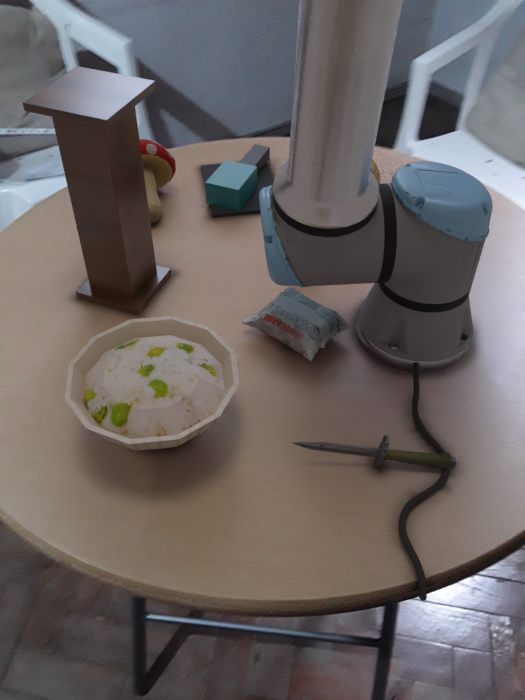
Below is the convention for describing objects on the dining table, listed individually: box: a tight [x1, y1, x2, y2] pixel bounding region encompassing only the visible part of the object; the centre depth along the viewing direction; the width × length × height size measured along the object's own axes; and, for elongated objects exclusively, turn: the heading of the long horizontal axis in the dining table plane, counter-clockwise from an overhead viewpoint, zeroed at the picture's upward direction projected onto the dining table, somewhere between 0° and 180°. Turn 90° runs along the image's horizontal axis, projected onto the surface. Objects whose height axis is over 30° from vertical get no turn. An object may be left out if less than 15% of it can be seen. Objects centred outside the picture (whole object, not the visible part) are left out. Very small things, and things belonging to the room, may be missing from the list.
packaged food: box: [241, 286, 351, 362], centre depth 90 cm, size 9×12×5 cm
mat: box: [200, 161, 275, 218], centre depth 118 cm, size 16×12×1 cm
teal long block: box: [204, 143, 271, 211], centre depth 117 cm, size 18×6×4 cm, turn 158°
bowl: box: [64, 315, 240, 451], centre depth 77 cm, size 19×19×10 cm
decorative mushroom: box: [139, 138, 177, 224], centre depth 111 cm, size 11×11×15 cm
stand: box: [22, 65, 172, 316], centre depth 89 cm, size 11×11×29 cm
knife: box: [291, 434, 457, 471], centre depth 75 cm, size 19×2×5 cm, turn 87°
